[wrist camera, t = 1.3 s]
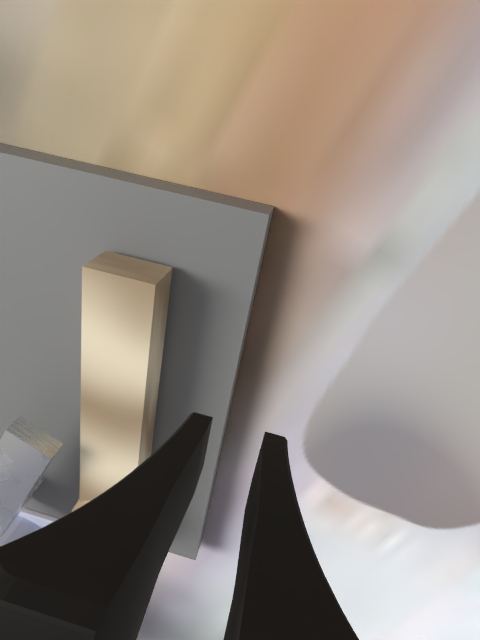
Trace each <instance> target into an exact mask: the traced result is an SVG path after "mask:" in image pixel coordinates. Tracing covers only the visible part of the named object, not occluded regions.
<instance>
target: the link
mask: <svg viewBox="0 0 480 640" xmlns="http://www.w3.org/2000/svg"><path fill="white" fill-rule="evenodd" d="M172 268H173V267H170V266H166V265H162V264H158V263H154V262H150V261H146V260H141V259H137V258H133V257H129V256H125V255H121V254H117V253H113V252H109V251H104V252H103V253H101V254H100V255H98V256H97V257H95V258H94V259H92V260H91V261H89V262H88V263H86V264H85V265H83V266H82V319H81V412H80V498H79V500H78V502H77V503H76V505H75V506H74V508H73V510H72V512H73V511H74V510H76V509H78V508H80V507H81V506H83V505H85V504H86V503H88V502H89V501H91V500H92V499H94V498H96V497H97V496H99V495H100V494H102V493H103V492H105V491H106V490H108V489H109V488H111V487H112V486H113V485H115V484H116V483H118V482H119V481H120V480H122V479H123V478H124V477H126V476H127V475H128V474H129V473H131V472H132V471H133V470H134V469H135V468H137V467H138V466H139V465H140V464H141V463H143V462H144V461H145V460H146V459H147V458H148V457H150V456H151V451H152V442H153V433H154V425H155V416H156V407H157V399H158V390H159V381H160V373H161V364H162V355H163V347H164V338H165V329H166V321H167V312H168V303H169V294H170V286H171V277H172Z"/></svg>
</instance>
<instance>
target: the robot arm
mask: <svg viewBox="0 0 480 640" xmlns="http://www.w3.org/2000/svg"><path fill="white" fill-rule="evenodd" d="M212 420H213V417H210V416H207V415H203V414H200V413H196V412H193V413H191V414H190V415H189V416H188V417H187V419H186V420H185V421H184V422H183V423H182V425H181V426H180V427H179V428H178V429H177V430H176V431H175V432H174V433H173V434H172V435H171V436H170V438H169V439H168V440H167V441H165V442H164V443H163V444H162V445H161V446H160V447H159V448H158V449H157V450H156V451H155V452H154V453H153V454H152V455H151V456H150V457H148V458H147V459H146V460H145V461H144V462H143V463H141V464H140V465H139V466H138V467H137V468H135V469H134V470H133V471H132V472H131V473H129V474H128V475H127V476H126V477H124V478H123V479H122V480H120V481H119V482H118V483H116V484H115V485H113V486H112V487H111V488H109V489H108V490H106V491H105V492H103V493H102V494H100V495H99V496H97V497H96V498H94V499H92V500H91V501H89V502H88V503H86V504H85V505H83V506H81V507H80V508H78V509H76V510H74V511H73V512H71V513H69V514H67V515H65V516H63V517H62V518H60V519H59V518H55V517H52V516H49V515H46V514H42V513H39V512H36V511H33V510H29V509H26V508H23V509H22V511H21V512H20V513H19V515H18V516H17V517H16V519H15V520H14V521H13V522H12V524H11V525H10V526H9V528H8V529H7V530H6V532H5V533H4V534H3V536H2V537H1V538H0V640H136V638H137V636H138V633H139V630H140V627H141V624H142V621H143V618H144V615H145V612H146V609H147V606H148V603H149V601H150V598H151V595H152V592H153V589H154V586H155V583H156V580H157V578H158V575H159V572H160V570H161V567H162V565H163V563H164V560H165V558H166V556H167V553H168V551H169V549H170V547H171V545H172V542H173V540H174V538H175V536H176V534H177V531H178V529H179V527H180V525H181V522H182V520H183V518H184V516H185V514H186V511H187V509H188V507H189V505H190V502H191V500H192V498H193V496H194V493H195V490H196V487H197V484H198V481H199V478H200V475H201V472H202V468H203V465H204V461H205V456H206V450H207V445H208V440H209V435H210V430H211V425H212ZM224 640H359V639H358V637H357V636H356V634H355V632H354V631H353V629H352V627H351V625H350V624H349V622H348V620H347V618H346V616H345V615H344V613H343V611H342V609H341V607H340V605H339V603H338V601H337V599H336V597H335V595H334V593H333V591H332V589H331V587H330V585H329V583H328V581H327V579H326V577H325V575H324V573H323V571H322V568H321V566H320V564H319V562H318V559H317V557H316V554H315V552H314V549H313V547H312V544H311V542H310V539H309V536H308V533H307V531H306V528H305V525H304V521H303V518H302V515H301V512H300V508H299V505H298V501H297V497H296V493H295V489H294V485H293V481H292V476H291V470H290V465H289V458H288V448H287V440H286V438H285V437H283V436H279V435H275V434H272V433H268V432H265V434H264V438H263V442H262V445H261V449H260V453H259V456H258V460H257V463H256V467H255V471H254V474H253V478H252V482H251V486H250V491H249V495H248V499H247V504H246V508H245V514H244V521H243V529H242V536H241V544H240V551H239V559H238V566H237V574H236V582H235V588H234V594H233V599H232V604H231V608H230V613H229V618H228V622H227V627H226V631H225V636H224Z"/></svg>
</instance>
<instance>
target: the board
mask: <svg viewBox="0 0 480 640" xmlns="http://www.w3.org/2000/svg"><path fill="white" fill-rule="evenodd" d="M273 210H274V206H270V205H266V204H262V203H257V202H253V201H249V200H244V199H240V198H236V197H231V196H227V195H223V194H218V193H214V192H210V191H205V190H201V189H197V188H192V187H188V186H184V185H179V184H175V183H171V182H166V181H162V180H158V179H153V178H149V177H145V176H140V175H136V174H132V173H127V172H123V171H119V170H114V169H110V168H106V167H101V166H97V165H93V164H88V163H84V162H80V161H75V160H71V159H67V158H62V157H58V156H54V155H49V154H45V153H41V152H36V151H32V150H28V149H23V148H19V147H15V146H10V145H6V144H2V143H0V439H1V438H2V436H3V434H4V432H5V430H6V429H7V428H8V427H9V426H10V425H11V424H12V423H13V422H14V421H15V420H16V419H17V418H18V417H19V416H20V417H22V418H24V419H25V420H27V421H28V422H30V423H31V424H33V425H35V426H36V427H38V428H39V429H41V430H42V431H44V432H46V433H47V434H49V435H50V436H52V437H53V438H55V439H57V440H58V441H60V442H61V443H63V445H62V446H61V448H60V449H59V451H58V452H57V454H56V455H55V457H54V458H53V460H52V461H51V463H50V465H49V466H48V468H47V469H46V471H45V472H44V474H43V475H42V476H43V477H45V478H44V480H43V481H42V483H41V484H40V486H39V487H38V489H37V490H36V492H35V493H34V495H33V496H32V498H31V499H30V500H29V501H28V503H27V504H26V505H25V507H24V508H28V509H31V510H34V511H37V512H41V513H44V514H47V515H50V516H54V517H57V518H62V517H63V516H65V515H67V514H69V513H71V512H72V510H73V508H74V506H75V505H76V503H77V502H78V500H79V498H80V412H81V319H82V266H83V265H85V264H86V263H88V262H89V261H91V260H92V259H94V258H95V257H97V256H98V255H100V254H101V253H103V252H104V251H109V252H113V253H117V254H121V255H125V256H129V257H133V258H137V259H141V260H146V261H150V262H154V263H158V264H162V265H166V266H170V267H173V268H172V277H171V286H170V294H169V303H168V312H167V321H166V329H165V338H164V347H163V355H162V364H161V373H160V381H159V390H158V399H157V407H156V416H155V425H154V433H153V442H152V451H151V455H152V454H153V453H154V452H155V451H156V450H157V449H158V448H159V447H160V446H161V445H162V444H163V443H164V442H165V441H167V440H168V439H169V438H170V436H171V435H172V434H173V433H174V432H175V431H176V430H177V429H178V428H179V427H180V426H181V425H182V423H183V422H184V421H185V420H186V419H187V417H188V416H189V415H190V414H191V413H193V412H196V413H200V414H203V415H207V416H210V417H213V420H212V425H211V430H210V435H209V440H208V445H207V450H206V456H205V461H204V465H203V468H202V472H201V475H200V478H199V481H198V484H197V487H196V490H195V493H194V496H193V498H192V500H191V502H190V505H189V507H188V509H187V511H186V514H185V516H184V518H183V520H182V522H181V525H180V527H179V529H178V531H177V534H176V536H175V538H174V540H173V542H172V545H171V547H170V549H169V551H168V552H171V553H174V554H177V555H181V556H184V557H187V558H190V559H194V560H196V557H197V553H198V550H199V547H200V544H201V540H202V536H203V532H204V527H205V522H206V518H207V513H208V509H209V504H210V499H211V495H212V490H213V486H214V481H215V476H216V472H217V467H218V463H219V458H220V453H221V449H222V444H223V440H224V435H225V430H226V426H227V421H228V417H229V412H230V407H231V403H232V398H233V394H234V389H235V384H236V380H237V375H238V371H239V366H240V361H241V357H242V352H243V348H244V343H245V338H246V334H247V329H248V325H249V320H250V315H251V311H252V306H253V302H254V297H255V292H256V288H257V283H258V279H259V274H260V269H261V265H262V260H263V256H264V251H265V246H266V242H267V237H268V233H269V228H270V223H271V219H272V214H273Z"/></svg>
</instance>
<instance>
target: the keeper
mask: <svg viewBox="0 0 480 640" xmlns="http://www.w3.org/2000/svg"><path fill="white" fill-rule="evenodd" d="M62 445H63V443H61V442H60V441H58V440H57V439H55V438H53V437H52V436H50V435H49V434H47V433H46V432H44V431H42V430H41V429H39V428H38V427H36V426H35V425H33V424H31V423H30V422H28V421H27V420H25V419H24V418H22V417H20V416H19V417H18V418H17V419H16V420H15V421H14V422H13V423H12V424H11V425H10V426H9V427H8V428H7V429H6V430H5V432H4V434H3V436H2V438H1V439H0V538H1V537H2V536H3V534H4V533H5V532H6V530H7V529H8V528H9V526H10V525H11V524H12V522H13V521H14V520H15V519H16V517H17V516H18V515H19V513H20V512H21V511H22V509H23V508H24V507H25V505H26V504H27V503H28V501H29V500H30V499H31V498H32V496H33V495H34V493H35V492H36V490H37V489H38V487H39V486H40V484H41V483H42V481H43V480H44V478H45V477H43V476H42V475H43V474H44V472H45V471H46V469H47V468H48V466H49V465H50V463H51V461H52V460H53V458H54V457H55V455H56V454H57V452H58V451H59V449H60V448H61V446H62Z"/></svg>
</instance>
